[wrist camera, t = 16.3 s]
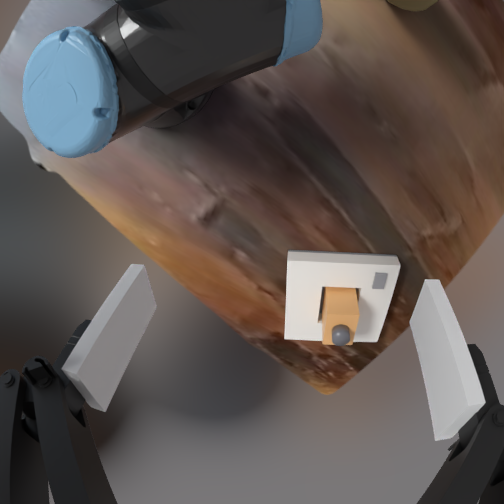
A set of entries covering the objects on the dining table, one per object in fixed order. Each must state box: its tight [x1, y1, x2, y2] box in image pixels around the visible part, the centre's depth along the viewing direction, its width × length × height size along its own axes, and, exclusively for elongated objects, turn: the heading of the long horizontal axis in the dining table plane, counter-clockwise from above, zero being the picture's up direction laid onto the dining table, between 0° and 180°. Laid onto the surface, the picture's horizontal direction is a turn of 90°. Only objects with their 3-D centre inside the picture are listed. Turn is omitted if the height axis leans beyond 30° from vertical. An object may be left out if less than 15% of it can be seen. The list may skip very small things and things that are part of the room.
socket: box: [284, 250, 401, 342], centre depth 52 cm, size 18×18×3 cm
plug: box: [322, 287, 360, 346], centre depth 49 cm, size 5×7×10 cm
